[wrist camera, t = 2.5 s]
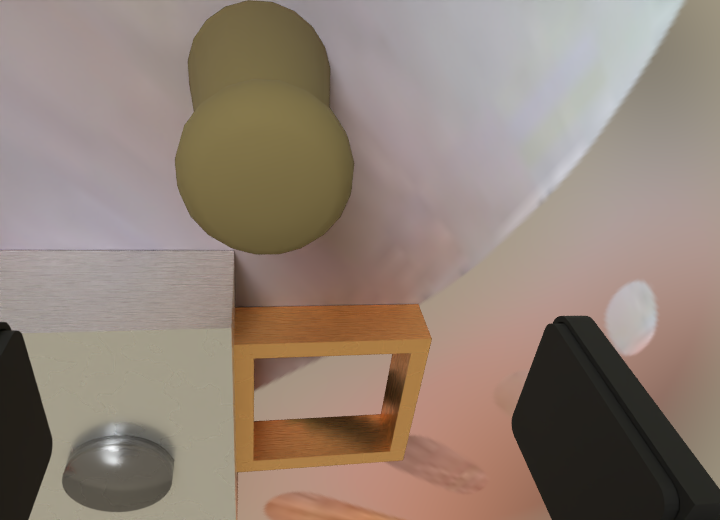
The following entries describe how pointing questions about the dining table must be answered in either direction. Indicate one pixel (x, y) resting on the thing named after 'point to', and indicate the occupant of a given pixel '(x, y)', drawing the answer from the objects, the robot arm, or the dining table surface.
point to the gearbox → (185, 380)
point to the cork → (262, 132)
